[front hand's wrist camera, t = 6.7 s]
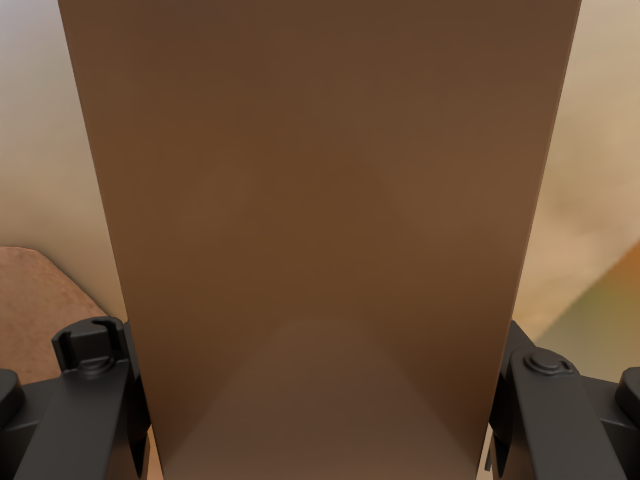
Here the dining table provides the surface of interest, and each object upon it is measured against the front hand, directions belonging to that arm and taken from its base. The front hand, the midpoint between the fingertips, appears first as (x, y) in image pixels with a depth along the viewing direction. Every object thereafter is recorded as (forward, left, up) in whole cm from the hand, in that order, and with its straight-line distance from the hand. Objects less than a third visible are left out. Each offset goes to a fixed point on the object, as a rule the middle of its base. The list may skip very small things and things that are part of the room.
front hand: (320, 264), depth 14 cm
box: (+5, +5, -1) cm, 8 cm away
